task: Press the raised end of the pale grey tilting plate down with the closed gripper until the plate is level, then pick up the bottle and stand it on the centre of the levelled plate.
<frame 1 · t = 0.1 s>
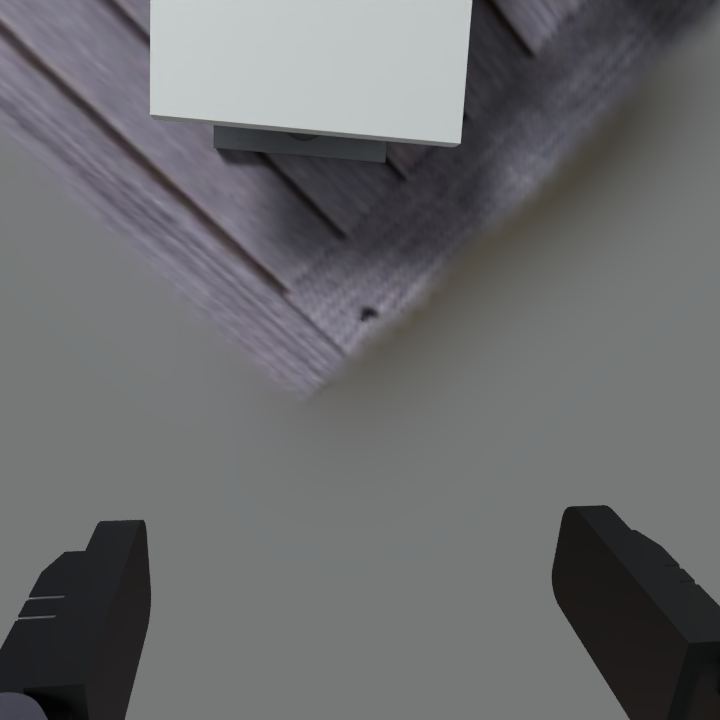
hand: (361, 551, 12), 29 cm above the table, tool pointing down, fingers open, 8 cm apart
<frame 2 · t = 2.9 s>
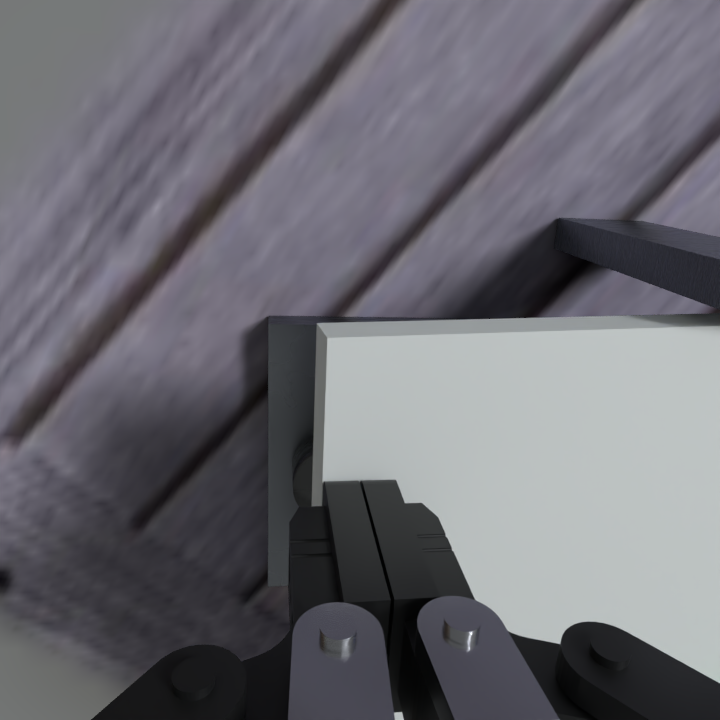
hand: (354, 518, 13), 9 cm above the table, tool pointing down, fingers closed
levelling plate: (697, 587, 16), point 8 cm above the table, hinge at -7.6°, touching gripper
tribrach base: (560, 447, 23), on the table
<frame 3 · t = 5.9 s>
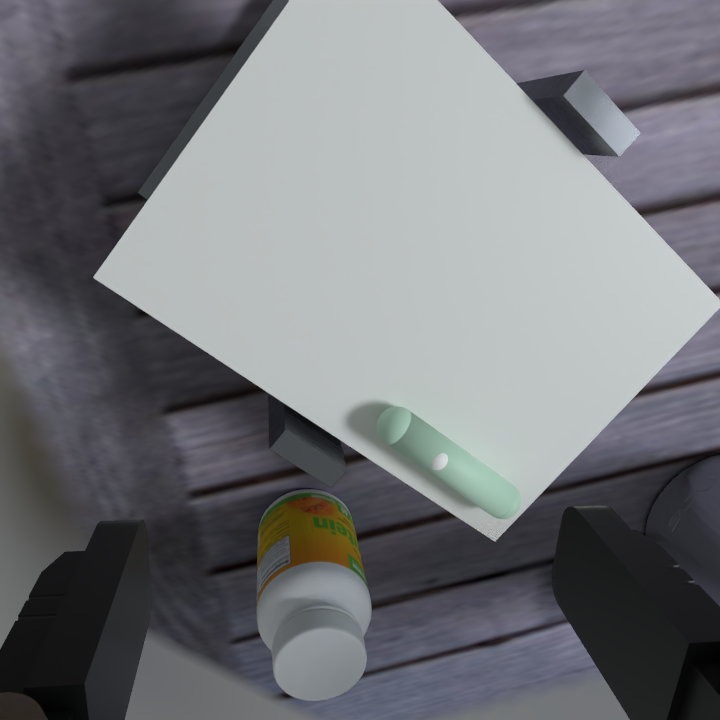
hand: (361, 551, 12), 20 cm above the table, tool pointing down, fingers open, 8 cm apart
levelling plate: (441, 294, 22), point 8 cm above the table, hinge at -1.0°
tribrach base: (397, 254, 30), on the table
supplement bottle: (305, 524, 35), on the table
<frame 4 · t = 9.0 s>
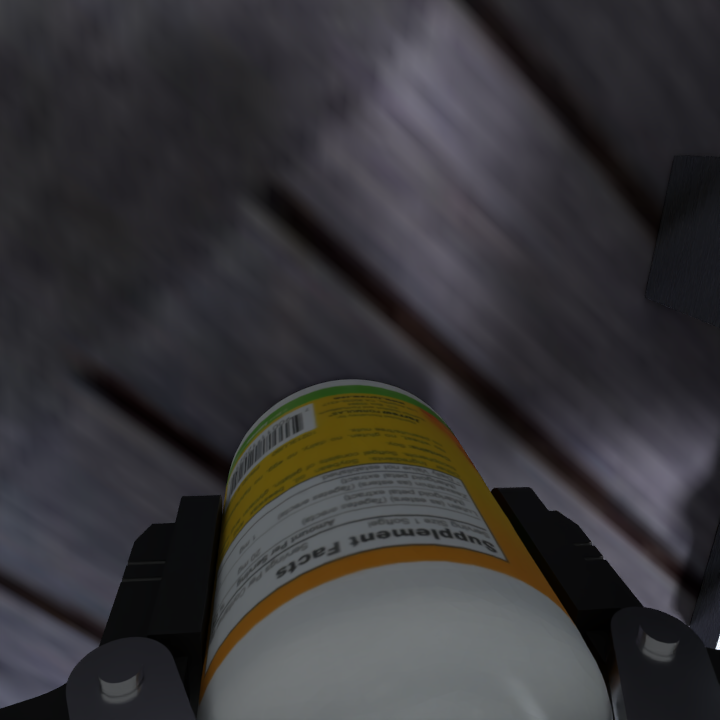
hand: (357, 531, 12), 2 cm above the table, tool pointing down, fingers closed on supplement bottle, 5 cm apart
supplement bottle: (345, 476, 14), on the table, touching gripper
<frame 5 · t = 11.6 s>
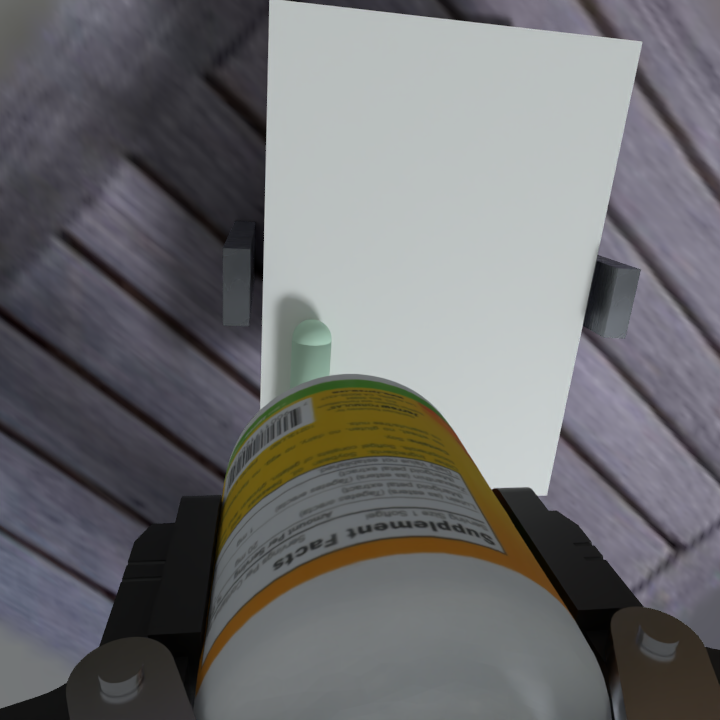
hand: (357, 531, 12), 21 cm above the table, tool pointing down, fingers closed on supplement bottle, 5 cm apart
levelling plate: (434, 293, 25), point 8 cm above the table, hinge at -1.0°
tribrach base: (397, 259, 32), on the table
supplement bottle: (343, 471, 14), point 19 cm above the table, touching gripper
when the fingers open (11 cm above the table, at t = 14.5 s): supplement bottle drops 1 cm, resting on levelling plate.
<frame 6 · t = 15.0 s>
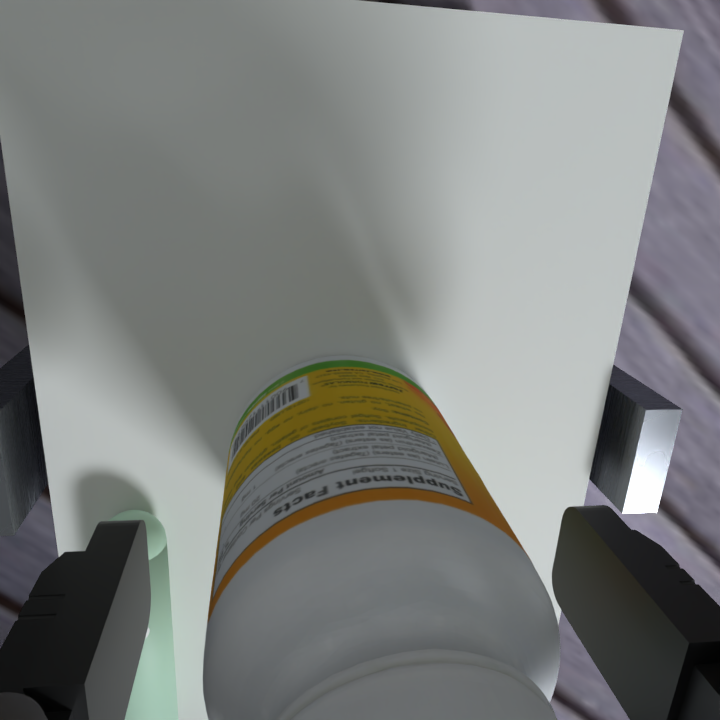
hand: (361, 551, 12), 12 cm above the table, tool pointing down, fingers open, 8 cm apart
levelling plate: (340, 457, 15), point 8 cm above the table, hinge at -0.8°, touching supplement bottle
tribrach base: (317, 354, 22), on the table
supplement bottle: (337, 445, 16), point 7 cm above the table, touching levelling plate
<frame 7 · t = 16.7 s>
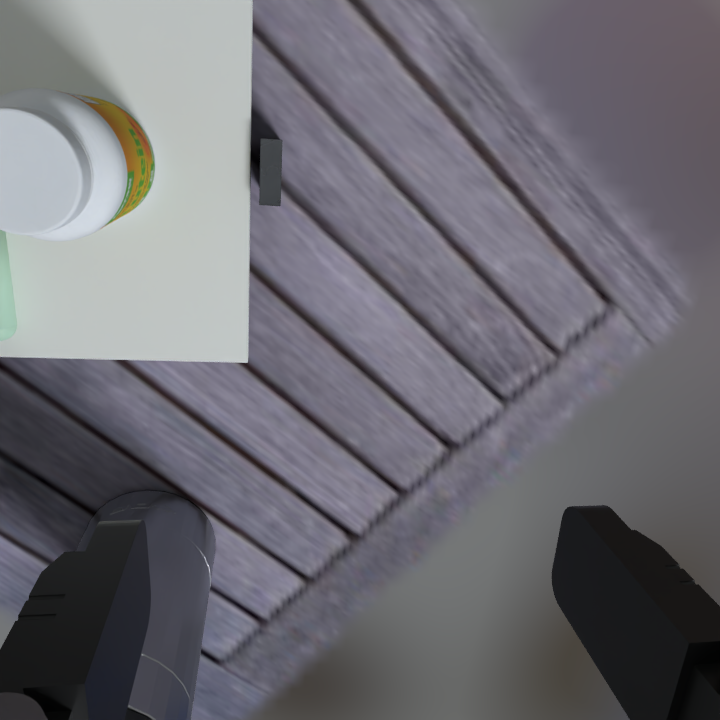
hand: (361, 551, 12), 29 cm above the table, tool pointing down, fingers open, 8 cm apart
levelling plate: (96, 160, 28), point 8 cm above the table, hinge at -0.8°, touching supplement bottle
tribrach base: (132, 155, 35), on the table
supplement bottle: (99, 159, 29), point 7 cm above the table, touching levelling plate
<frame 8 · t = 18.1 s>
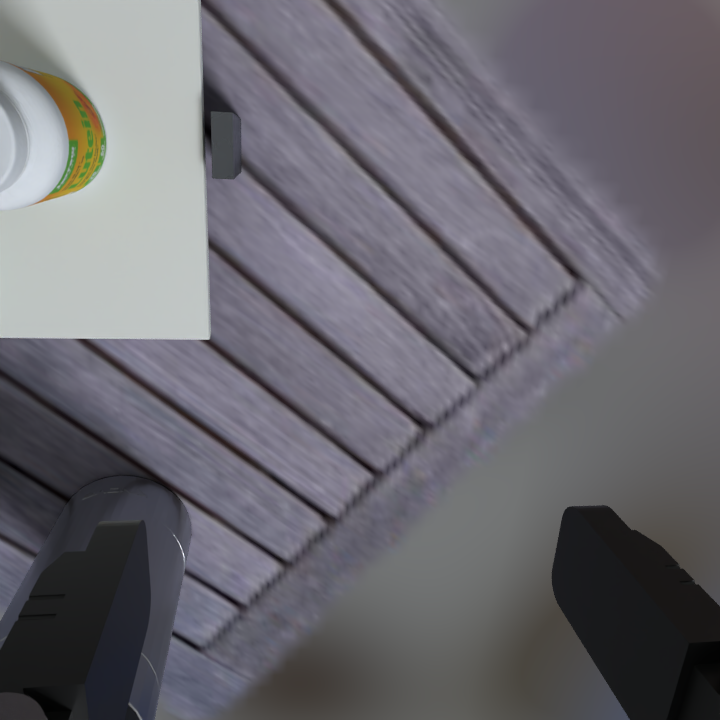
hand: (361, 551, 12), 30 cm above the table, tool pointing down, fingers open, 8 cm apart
levelling plate: (47, 136, 28), point 8 cm above the table, hinge at -0.8°, touching supplement bottle
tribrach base: (93, 137, 36), on the table
supplement bottle: (51, 135, 29), point 7 cm above the table, touching levelling plate
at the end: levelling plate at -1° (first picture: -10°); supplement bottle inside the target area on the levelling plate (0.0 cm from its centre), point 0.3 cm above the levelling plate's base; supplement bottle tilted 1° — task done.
